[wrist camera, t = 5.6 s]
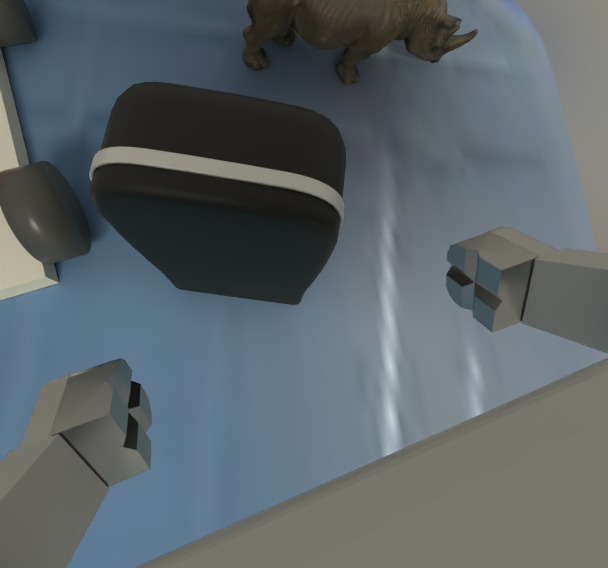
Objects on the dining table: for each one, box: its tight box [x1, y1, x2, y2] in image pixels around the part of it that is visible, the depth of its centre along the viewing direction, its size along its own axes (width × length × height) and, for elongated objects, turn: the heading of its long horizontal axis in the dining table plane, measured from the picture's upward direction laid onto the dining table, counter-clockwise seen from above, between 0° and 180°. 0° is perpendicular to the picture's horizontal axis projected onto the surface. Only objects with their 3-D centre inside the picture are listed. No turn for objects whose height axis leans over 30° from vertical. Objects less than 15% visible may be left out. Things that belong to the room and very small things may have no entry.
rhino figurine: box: [243, 0, 478, 84], centre depth 21 cm, size 4×14×6 cm, turn 88°
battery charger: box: [89, 82, 346, 305], centre depth 14 cm, size 7×4×11 cm, turn 83°
